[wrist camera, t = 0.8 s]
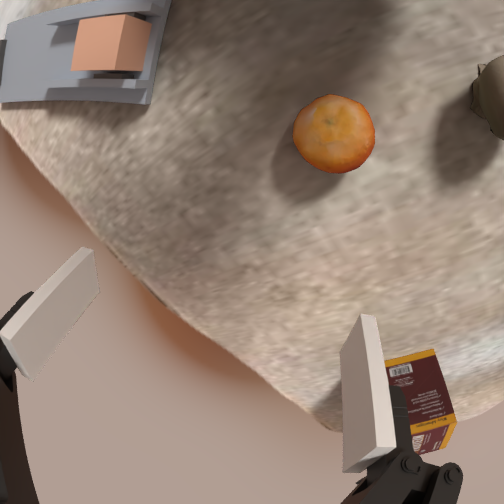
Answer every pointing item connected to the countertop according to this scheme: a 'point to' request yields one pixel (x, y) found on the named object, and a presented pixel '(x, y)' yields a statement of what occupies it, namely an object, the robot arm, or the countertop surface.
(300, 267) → the countertop surface
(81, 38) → the block
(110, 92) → the chute
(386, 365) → the supplement box
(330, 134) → the fruit
